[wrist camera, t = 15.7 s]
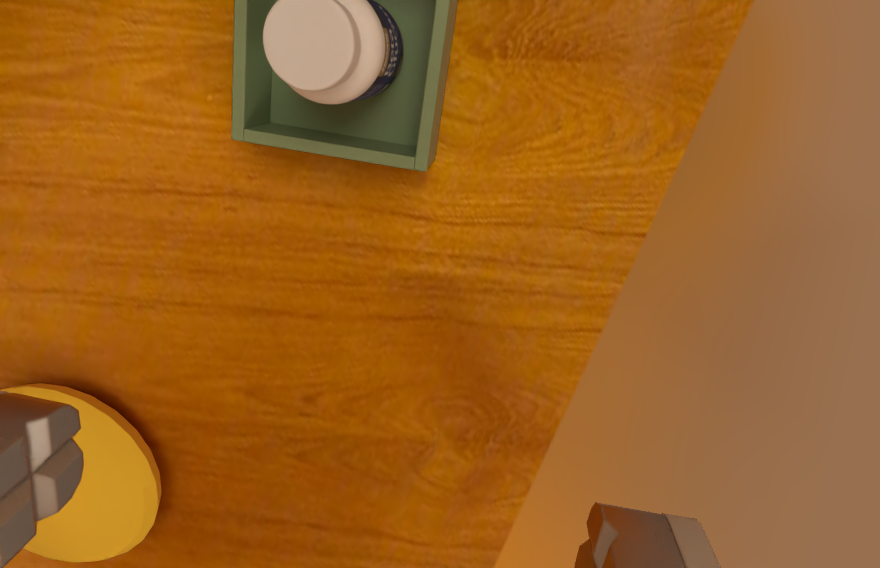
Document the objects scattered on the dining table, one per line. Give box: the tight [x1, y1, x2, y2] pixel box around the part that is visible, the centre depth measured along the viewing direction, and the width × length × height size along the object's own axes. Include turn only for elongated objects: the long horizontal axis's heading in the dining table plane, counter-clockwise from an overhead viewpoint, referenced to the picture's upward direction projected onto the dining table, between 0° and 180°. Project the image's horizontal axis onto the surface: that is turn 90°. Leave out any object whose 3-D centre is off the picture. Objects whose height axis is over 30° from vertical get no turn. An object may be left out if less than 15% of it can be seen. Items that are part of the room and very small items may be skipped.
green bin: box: [231, 0, 458, 172], centre depth 32 cm, size 11×11×5 cm
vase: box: [1, 383, 162, 563], centre depth 44 cm, size 16×16×7 cm
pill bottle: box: [263, 0, 404, 104], centre depth 29 cm, size 5×5×10 cm
